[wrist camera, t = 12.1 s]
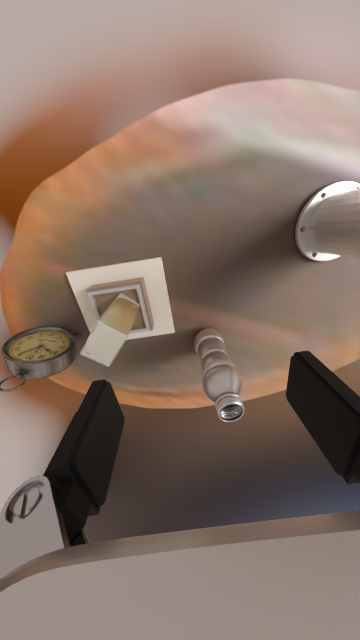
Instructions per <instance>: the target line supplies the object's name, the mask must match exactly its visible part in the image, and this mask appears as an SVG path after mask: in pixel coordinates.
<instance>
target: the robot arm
mask: <svg viewBox="0 0 360 640" xmlns="http://www.w3.org/2000/svg"><path fill="white" fill-rule="evenodd" d="M300 229H301V230H300ZM295 240H296V244H297V246H298V249H299V250H300V252H301V253H302V254H303V255H304V256H306V257H307V258H309V259H312V260H316V261H329V260H333V259H336V258H338V257H340V256H346V257H352V258H358V259H360V184H359V183H357V182H353V181H341V182H337V183H333V184H330V185H328V186H326V187H324V188H322V189H321V190H319V191H318V192H317V193H316V194H314V195H313V196H312V197H311V198H310V200H309V201H308V202H307V203H306V205H305V206H304V208H303V209H302V211H301V213H300V215H299V217H298V220H297V224H296V229H295ZM286 397H287V400H288V402H289V403H290V405H291V406H292V408H293V409H294V411H295V412H296V414H297V415H298V417H299V418H300V420H301V421H302V423H303V424H304V426H305V427H306V428H307V430H308V432H309V433H310V435H311V436H312V438H313V439H314V441H315V442H316V443H317V445H318V447H319V448H320V449H321V451H322V453H323V454H324V455H325V457H326V458H327V460H328V461H329V463H330V464H331V466H332V467H333V469H334V470H335V472H336V473H337V474H338V475H342V476H343V478H344V479H345V481H346V482H347V484H352V483H360V397H359V396H358V395H357V394H356V393H355V392H354V391H353V390H351V389H350V388H349V387H348V386H347V385H346V384H345V383H344V382H343V381H342V380H340V379H339V378H338V377H337V376H336V375H335V374H334V373H333V372H332V371H330V370H329V369H328V368H327V367H326V366H325V365H324V364H323V363H322V362H320V361H319V360H318V359H317V358H316V357H315V356H314V355H313V354H312V353H310V352H309V351H302V352H296V353H294V356H292V357H291V361H290V368H289V376H288V383H287V391H286ZM123 425H124V416H123V413H122V411H121V408H120V406H119V403H118V401H117V398H116V396H115V393H114V391H113V388H112V386H111V384H110V382H107V381H106V380H98V381H93V382H92V384H91V386H90V388H89V390H88V392H87V394H86V396H85V398H84V400H83V402H82V404H81V406H80V408H79V409H78V411H77V412H76V414H75V415H74V417H73V419H72V421H71V423H70V425H69V427H68V428H67V430H66V432H65V434H64V436H63V438H62V440H61V442H60V444H59V446H58V448H57V450H56V452H55V454H54V456H53V457H52V460H51V461H50V463H49V465H48V467H47V469H46V471H45V473H44V475H43V476H36V477H33V478H30V479H29V480H27V481H25V482H24V483H23V484H21V485H20V486H19V487H18V488H17V489H16V490H15V491H14V492H13V493H12V494H11V496H10V497H9V498H8V500H7V501H6V503H5V505H4V507H3V509H2V511H1V513H0V640H360V511H351V512H341V513H332V514H323V515H314V516H305V517H297V518H288V519H279V520H270V521H262V522H253V523H244V524H236V525H227V526H219V527H211V528H203V529H194V530H186V531H179V532H170V533H162V534H154V535H145V536H137V537H130V538H122V539H116V540H108V541H101V542H95V543H89V541H88V538H87V535H86V532H85V529H84V526H85V523H86V520H87V516H90V515H98V514H99V510H100V506H101V505H103V504H104V502H105V499H106V495H107V491H108V487H109V483H110V479H111V475H112V471H113V466H114V462H115V458H116V454H117V450H118V446H119V442H120V438H121V433H122V430H123Z"/></svg>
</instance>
